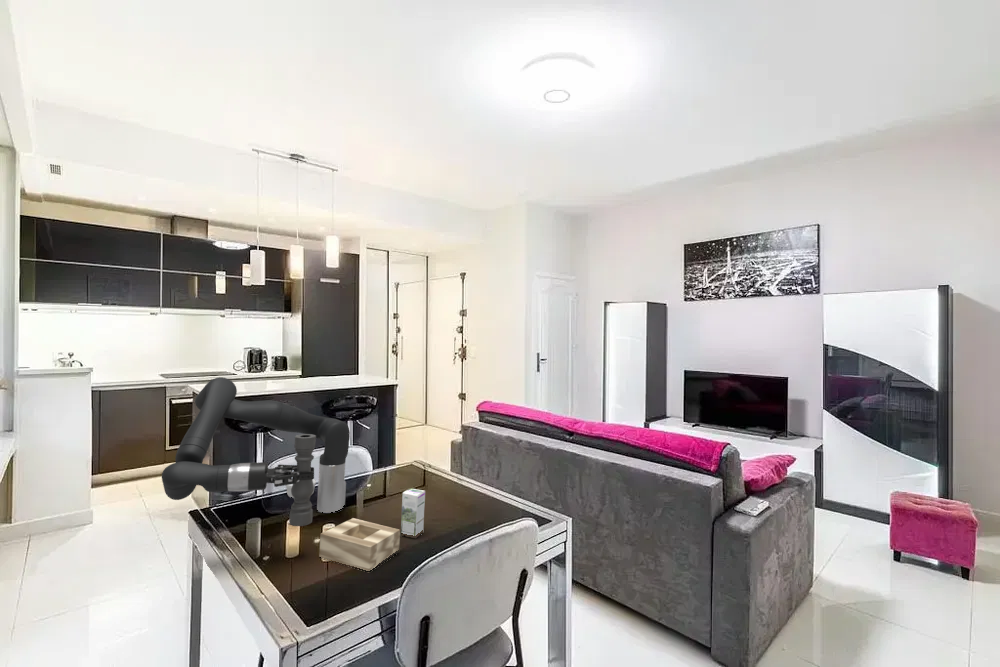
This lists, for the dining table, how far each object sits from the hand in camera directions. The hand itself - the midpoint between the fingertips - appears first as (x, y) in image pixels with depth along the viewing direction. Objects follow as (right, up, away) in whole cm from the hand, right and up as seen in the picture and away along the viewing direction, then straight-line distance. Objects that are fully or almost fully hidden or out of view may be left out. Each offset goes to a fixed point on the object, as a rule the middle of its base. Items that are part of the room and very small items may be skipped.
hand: (313, 473), depth 139 cm
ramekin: (-26, -24, +52) cm, 62 cm away
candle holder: (-3, -14, -1) cm, 14 cm away
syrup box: (+25, -26, +19) cm, 41 cm away
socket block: (+13, -25, +2) cm, 28 cm away
